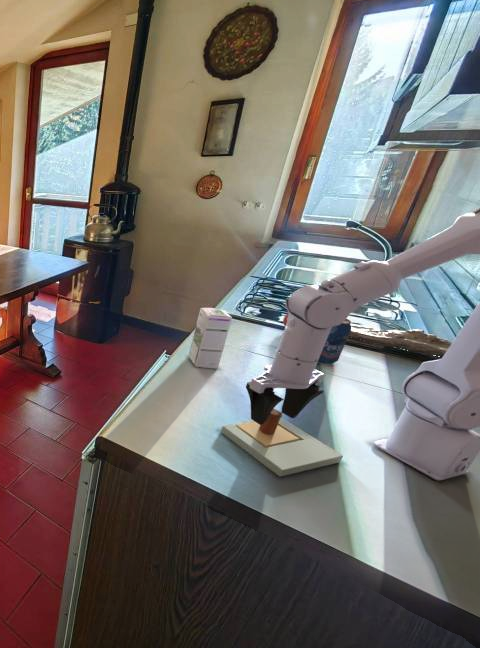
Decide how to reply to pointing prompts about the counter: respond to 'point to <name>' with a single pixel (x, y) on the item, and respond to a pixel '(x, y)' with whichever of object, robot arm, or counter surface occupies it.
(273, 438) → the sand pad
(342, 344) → the soda can
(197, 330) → the syrup box
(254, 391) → the robot arm
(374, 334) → the driftwood log
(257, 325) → the counter surface
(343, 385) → the counter surface
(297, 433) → the notched mat
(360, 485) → the counter surface
